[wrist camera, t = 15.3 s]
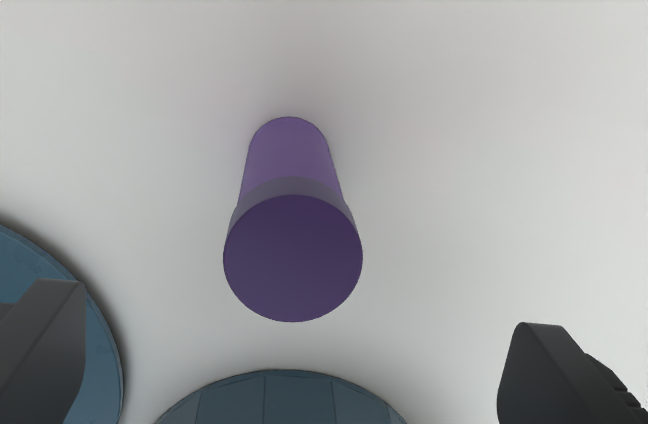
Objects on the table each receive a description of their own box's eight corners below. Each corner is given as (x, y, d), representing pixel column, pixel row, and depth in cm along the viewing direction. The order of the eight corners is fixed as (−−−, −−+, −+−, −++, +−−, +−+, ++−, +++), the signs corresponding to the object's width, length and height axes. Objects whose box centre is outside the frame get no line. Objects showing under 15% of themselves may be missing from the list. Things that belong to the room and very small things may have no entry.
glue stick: (241, 192, 25) (217, 317, 15) (249, 108, 24) (228, 187, 14) (325, 201, 25) (352, 328, 16) (337, 119, 24) (373, 202, 15)
